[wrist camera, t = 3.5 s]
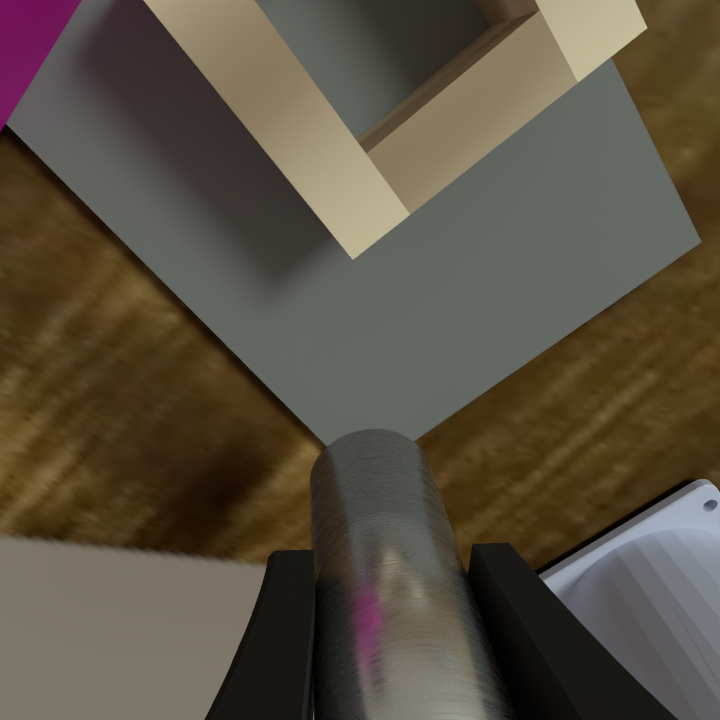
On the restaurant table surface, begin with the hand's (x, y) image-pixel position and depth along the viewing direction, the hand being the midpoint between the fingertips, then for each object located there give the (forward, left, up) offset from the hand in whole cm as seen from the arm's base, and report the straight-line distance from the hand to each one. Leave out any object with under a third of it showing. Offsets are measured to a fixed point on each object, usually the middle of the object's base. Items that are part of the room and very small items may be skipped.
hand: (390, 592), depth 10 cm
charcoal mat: (+4, -4, -8) cm, 10 cm away
